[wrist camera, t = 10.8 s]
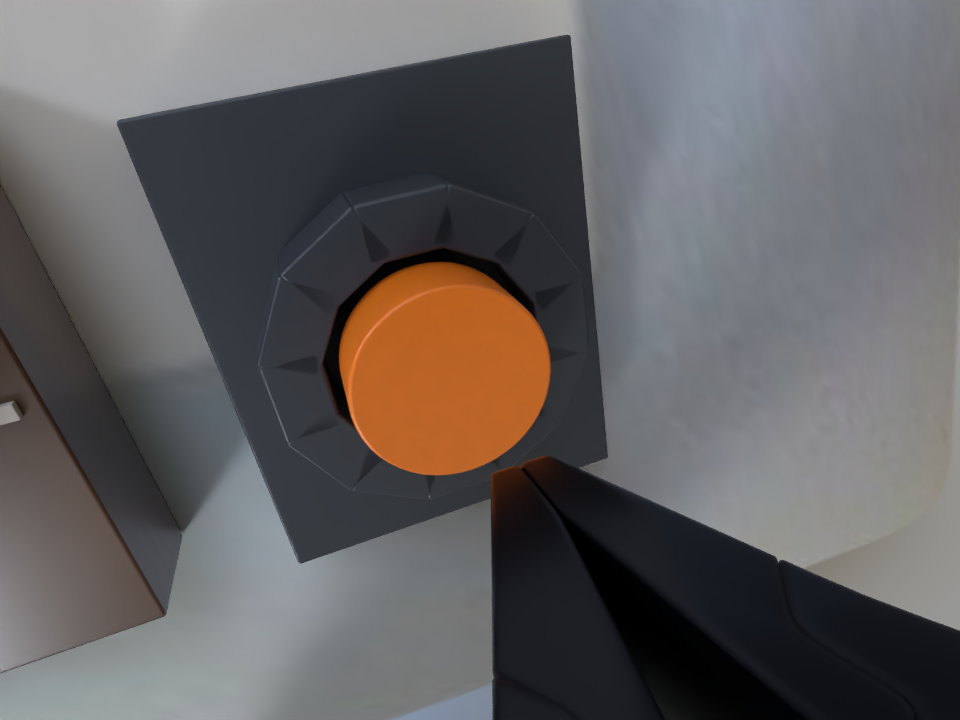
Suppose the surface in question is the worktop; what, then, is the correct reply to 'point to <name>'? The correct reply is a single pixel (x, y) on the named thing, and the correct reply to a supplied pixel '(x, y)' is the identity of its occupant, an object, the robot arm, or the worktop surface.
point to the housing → (376, 258)
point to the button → (442, 368)
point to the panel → (67, 481)
